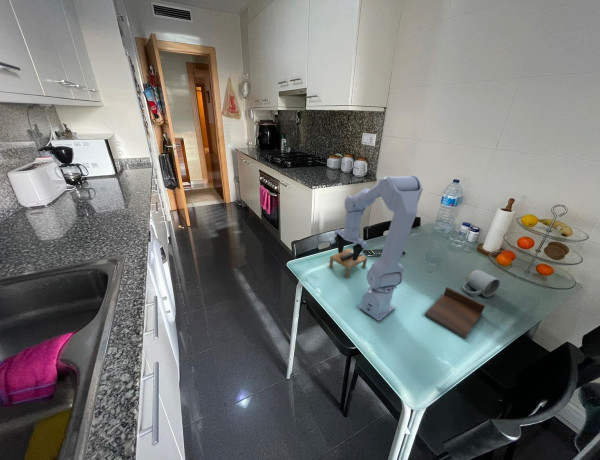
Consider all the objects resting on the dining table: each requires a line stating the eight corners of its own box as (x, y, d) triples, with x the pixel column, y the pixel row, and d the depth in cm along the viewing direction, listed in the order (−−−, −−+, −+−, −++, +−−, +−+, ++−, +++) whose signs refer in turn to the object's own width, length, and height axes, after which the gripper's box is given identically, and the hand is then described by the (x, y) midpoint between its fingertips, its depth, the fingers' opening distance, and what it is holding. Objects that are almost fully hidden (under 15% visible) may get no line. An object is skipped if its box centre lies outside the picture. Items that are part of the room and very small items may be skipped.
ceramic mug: (475, 281, 100) (481, 265, 97) (495, 294, 93) (503, 277, 90) (455, 287, 97) (461, 270, 93) (475, 300, 90) (482, 283, 86)
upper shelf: (347, 277, 99) (349, 267, 97) (329, 266, 105) (330, 256, 103) (365, 267, 106) (367, 257, 104) (347, 257, 113) (348, 248, 111)
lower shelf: (464, 338, 74) (469, 328, 72) (424, 315, 82) (427, 306, 80) (481, 314, 83) (485, 305, 82) (443, 295, 91) (447, 286, 90)
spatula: (345, 262, 99) (346, 260, 99) (338, 258, 102) (338, 256, 102) (362, 254, 106) (362, 251, 106) (354, 250, 109) (355, 248, 108)
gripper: (373, 229, 94) (367, 260, 100) (344, 217, 104) (340, 246, 110) (362, 234, 90) (357, 266, 96) (332, 221, 100) (329, 251, 106)
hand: (347, 256), depth 103 cm, fingers open, 7 cm apart
